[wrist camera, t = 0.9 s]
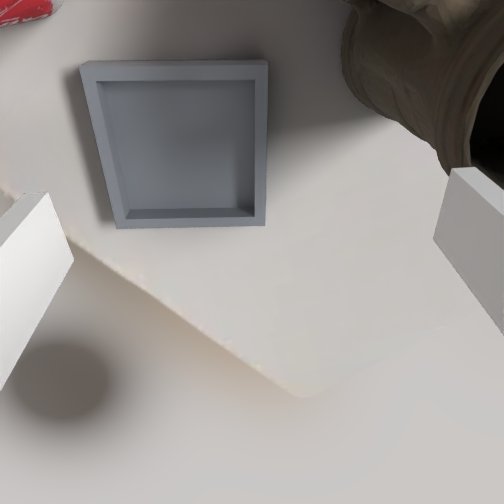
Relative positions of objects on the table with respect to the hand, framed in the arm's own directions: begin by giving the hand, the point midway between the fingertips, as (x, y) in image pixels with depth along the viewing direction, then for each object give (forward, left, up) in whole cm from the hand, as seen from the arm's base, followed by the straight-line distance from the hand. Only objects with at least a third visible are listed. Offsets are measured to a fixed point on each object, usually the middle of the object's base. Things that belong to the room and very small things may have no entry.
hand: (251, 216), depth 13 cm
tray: (+6, -5, -23) cm, 24 cm away
